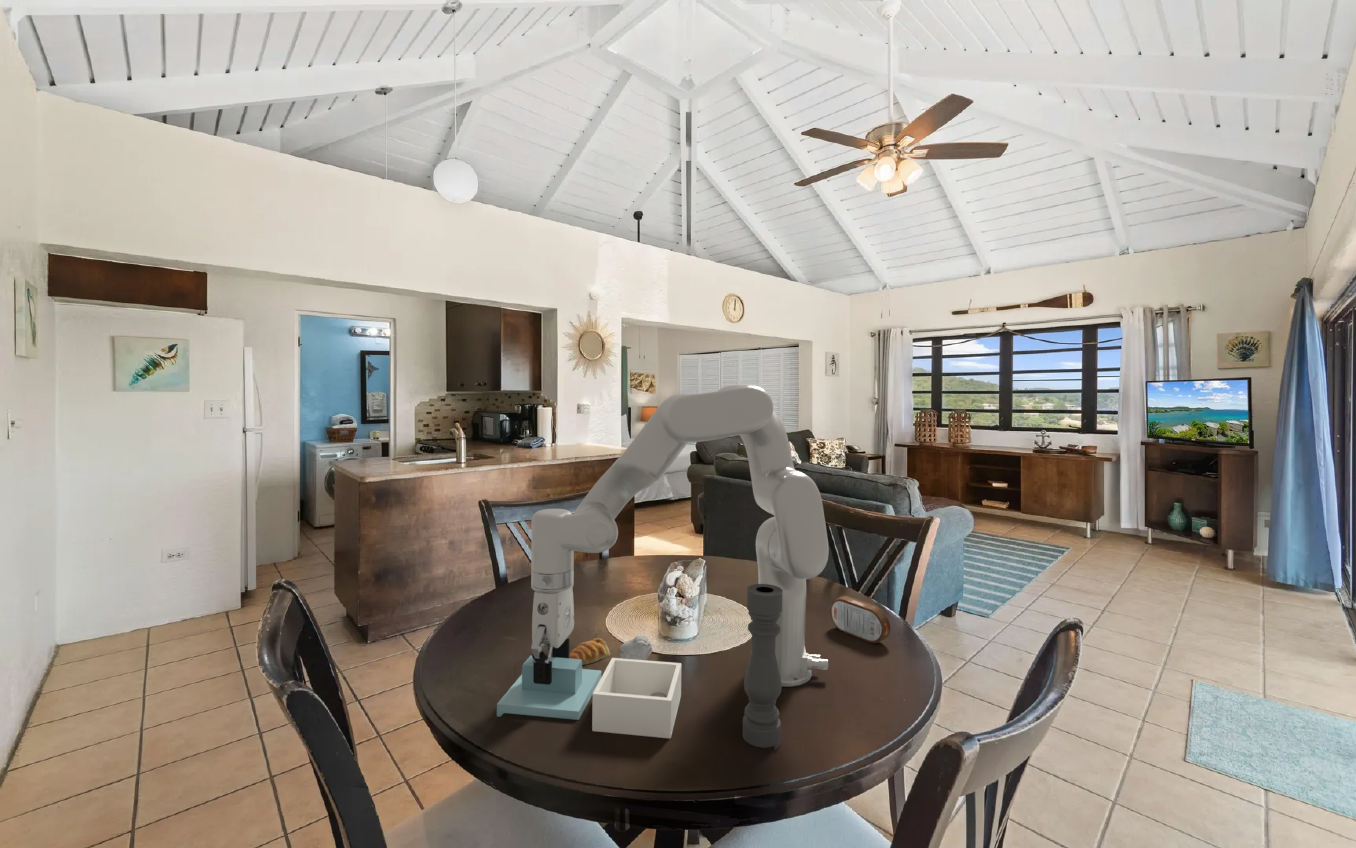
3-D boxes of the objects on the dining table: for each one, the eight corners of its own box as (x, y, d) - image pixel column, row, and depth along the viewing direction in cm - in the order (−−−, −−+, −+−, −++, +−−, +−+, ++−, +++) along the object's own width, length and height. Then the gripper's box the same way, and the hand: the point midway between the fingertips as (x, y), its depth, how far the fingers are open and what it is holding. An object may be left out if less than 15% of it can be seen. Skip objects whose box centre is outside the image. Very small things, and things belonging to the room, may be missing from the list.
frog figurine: (648, 679, 113) (648, 645, 113) (614, 675, 114) (614, 641, 114) (656, 665, 119) (657, 632, 118) (624, 661, 120) (624, 628, 120)
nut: (667, 704, 103) (667, 693, 102) (665, 713, 100) (665, 702, 100) (651, 702, 103) (651, 691, 103) (648, 711, 100) (648, 700, 100)
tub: (680, 700, 105) (681, 663, 105) (670, 743, 92) (671, 700, 92) (611, 694, 107) (612, 657, 107) (592, 735, 94) (592, 693, 94)
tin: (890, 646, 130) (892, 609, 130) (882, 649, 128) (884, 612, 128) (835, 624, 142) (836, 591, 141) (827, 627, 140) (828, 593, 140)
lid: (601, 681, 112) (601, 648, 111) (578, 724, 97) (579, 685, 97) (529, 675, 114) (529, 642, 113) (496, 716, 99) (496, 678, 99)
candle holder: (776, 729, 97) (779, 583, 95) (784, 752, 91) (788, 596, 89) (739, 729, 97) (742, 583, 95) (745, 752, 90) (748, 596, 89)
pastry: (577, 675, 115) (577, 656, 114) (557, 664, 119) (557, 646, 119) (612, 659, 122) (612, 641, 121) (592, 650, 126) (592, 632, 126)
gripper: (556, 595, 95) (555, 697, 96) (586, 565, 112) (585, 651, 113) (512, 593, 96) (512, 693, 97) (549, 563, 113) (549, 648, 114)
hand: (552, 670), depth 105 cm, fingers open, 9 cm apart
